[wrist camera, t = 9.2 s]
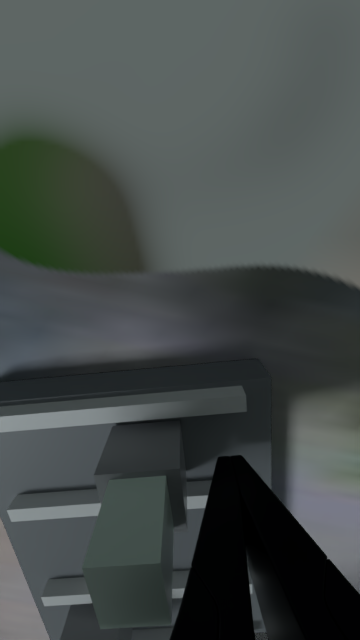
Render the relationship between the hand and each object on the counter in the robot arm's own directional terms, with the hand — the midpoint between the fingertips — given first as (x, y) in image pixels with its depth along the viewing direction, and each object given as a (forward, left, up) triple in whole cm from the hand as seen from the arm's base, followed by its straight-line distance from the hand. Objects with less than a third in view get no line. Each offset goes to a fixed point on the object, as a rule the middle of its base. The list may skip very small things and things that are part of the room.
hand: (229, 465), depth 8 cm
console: (-4, +4, -2) cm, 6 cm away
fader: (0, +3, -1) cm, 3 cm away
